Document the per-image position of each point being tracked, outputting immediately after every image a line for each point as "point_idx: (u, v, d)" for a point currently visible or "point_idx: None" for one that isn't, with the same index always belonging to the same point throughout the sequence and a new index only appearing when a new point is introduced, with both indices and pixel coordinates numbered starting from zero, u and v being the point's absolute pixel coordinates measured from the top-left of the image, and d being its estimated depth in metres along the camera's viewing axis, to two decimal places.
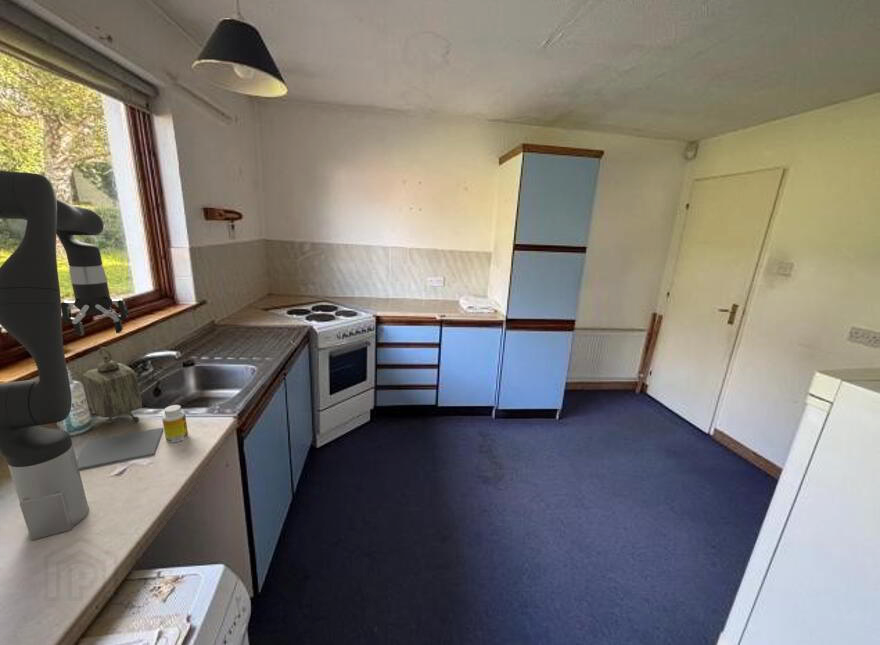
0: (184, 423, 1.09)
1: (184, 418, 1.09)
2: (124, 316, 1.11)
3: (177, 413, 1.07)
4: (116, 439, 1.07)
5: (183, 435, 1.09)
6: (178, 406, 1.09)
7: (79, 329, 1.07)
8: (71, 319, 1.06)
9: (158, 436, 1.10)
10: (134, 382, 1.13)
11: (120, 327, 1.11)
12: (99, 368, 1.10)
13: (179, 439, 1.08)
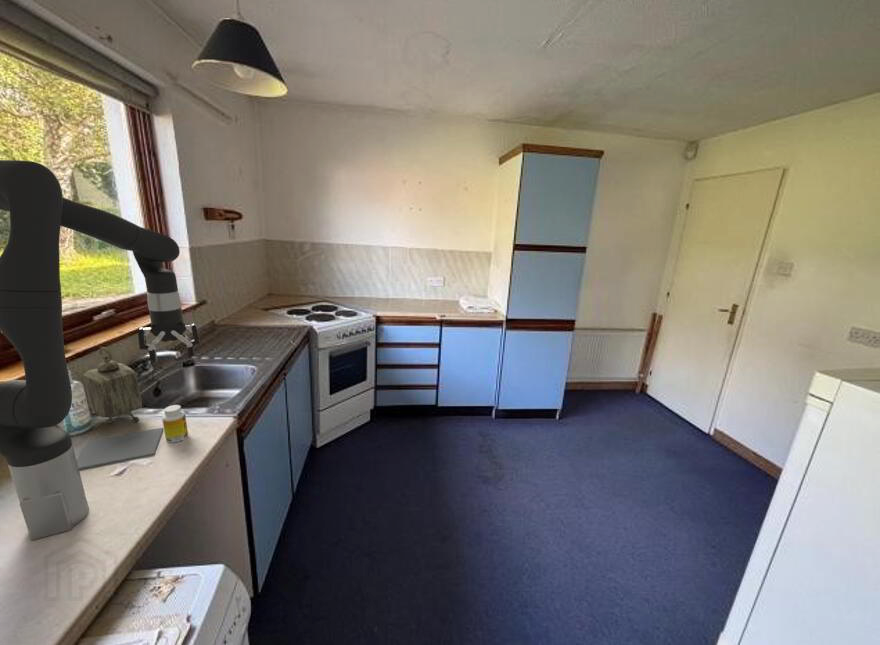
0: (184, 423, 1.09)
1: (184, 418, 1.09)
2: (197, 341, 1.09)
3: (177, 413, 1.07)
4: (116, 439, 1.07)
5: (183, 435, 1.09)
6: (178, 406, 1.09)
7: (154, 356, 1.05)
8: (147, 346, 1.04)
9: (158, 436, 1.10)
10: (134, 383, 1.13)
11: (192, 352, 1.10)
12: (99, 368, 1.10)
13: (179, 439, 1.08)
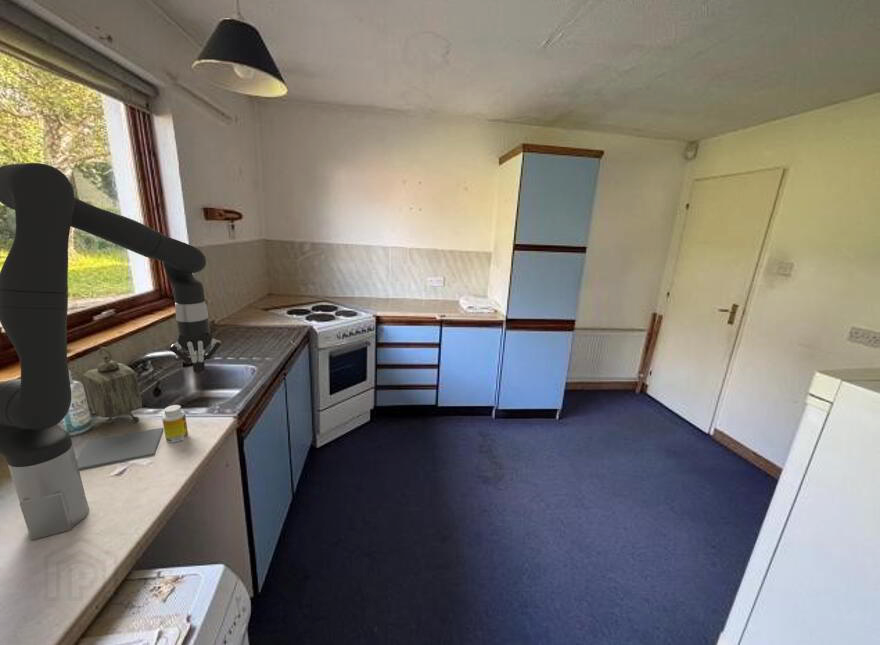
0: (184, 423, 1.09)
1: (184, 418, 1.09)
2: (209, 357, 1.07)
3: (177, 413, 1.07)
4: (116, 439, 1.07)
5: (183, 435, 1.09)
6: (178, 406, 1.09)
7: (197, 368, 1.07)
8: (191, 358, 1.06)
9: (158, 436, 1.10)
10: (134, 383, 1.13)
11: (203, 367, 1.08)
12: (99, 368, 1.10)
13: (179, 439, 1.08)
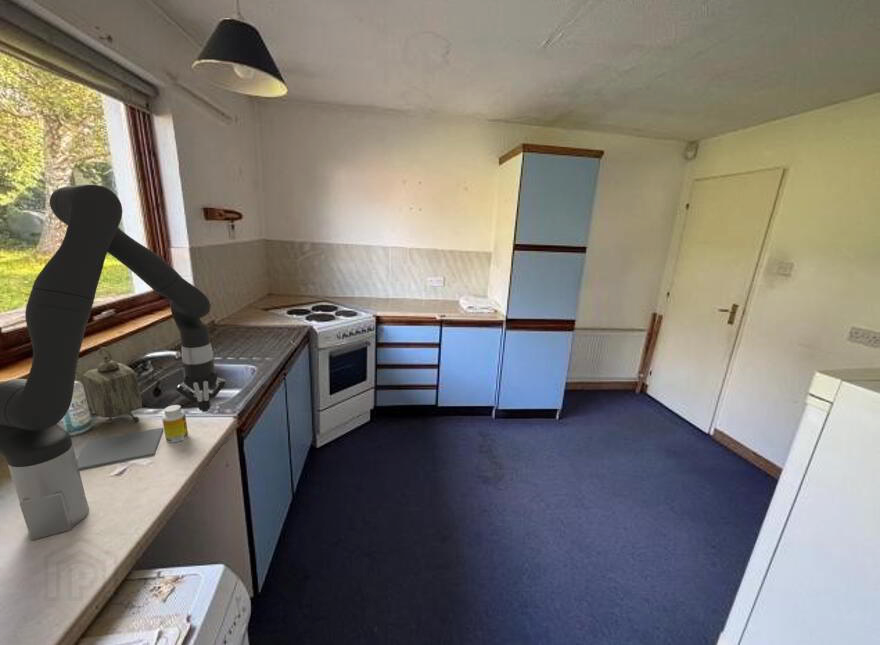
0: (184, 423, 1.09)
1: (184, 418, 1.09)
2: (214, 395, 1.11)
3: (177, 413, 1.07)
4: (116, 439, 1.07)
5: (183, 435, 1.09)
6: (178, 406, 1.09)
7: (203, 406, 1.10)
8: (196, 397, 1.09)
9: (158, 436, 1.10)
10: (134, 383, 1.13)
11: (209, 405, 1.12)
12: (99, 368, 1.10)
13: (179, 439, 1.08)
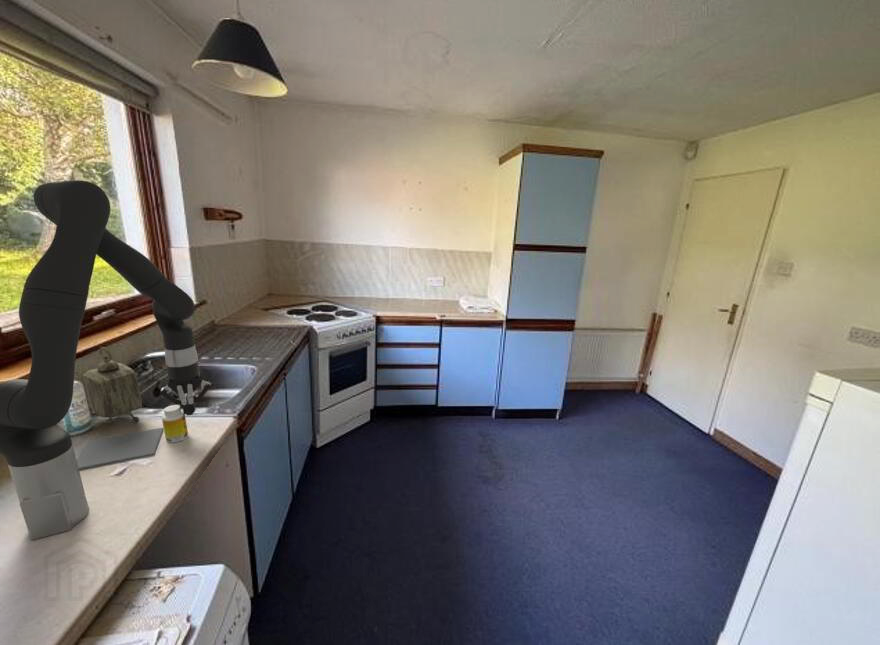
0: (184, 423, 1.09)
1: (184, 418, 1.09)
2: (198, 399, 1.09)
3: (177, 413, 1.07)
4: (116, 439, 1.07)
5: (183, 435, 1.09)
6: (178, 406, 1.09)
7: (187, 409, 1.08)
8: (181, 400, 1.07)
9: (158, 436, 1.10)
10: (134, 383, 1.13)
11: (193, 409, 1.10)
12: (99, 368, 1.10)
13: (179, 439, 1.08)
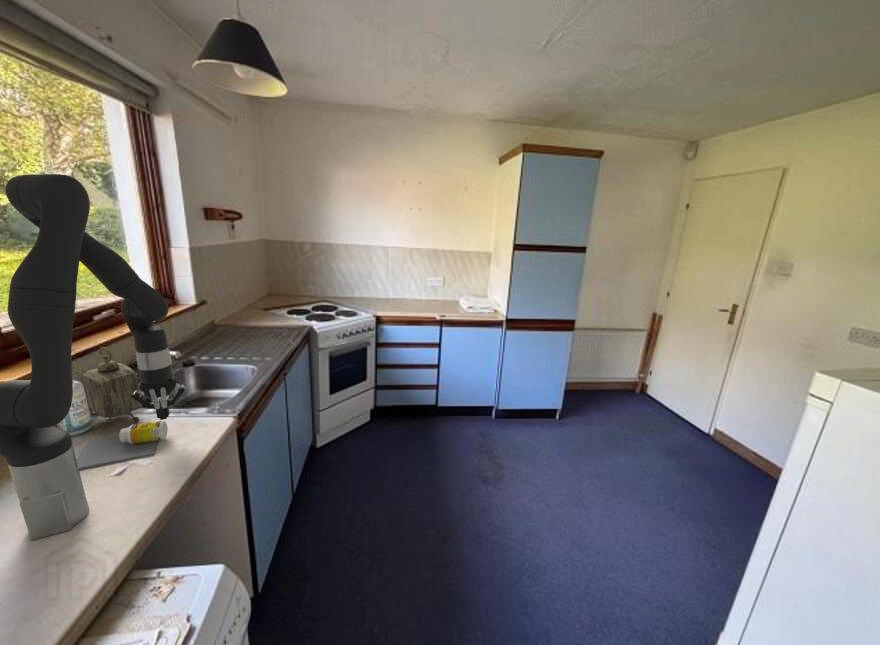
0: (141, 426, 1.05)
1: (135, 426, 1.05)
2: (172, 402, 1.06)
3: (125, 433, 1.03)
4: (116, 439, 1.07)
5: (155, 427, 1.06)
6: None
7: (161, 414, 1.06)
8: (154, 404, 1.04)
9: None
10: (134, 383, 1.13)
11: (167, 413, 1.07)
12: (99, 368, 1.10)
13: (158, 431, 1.06)
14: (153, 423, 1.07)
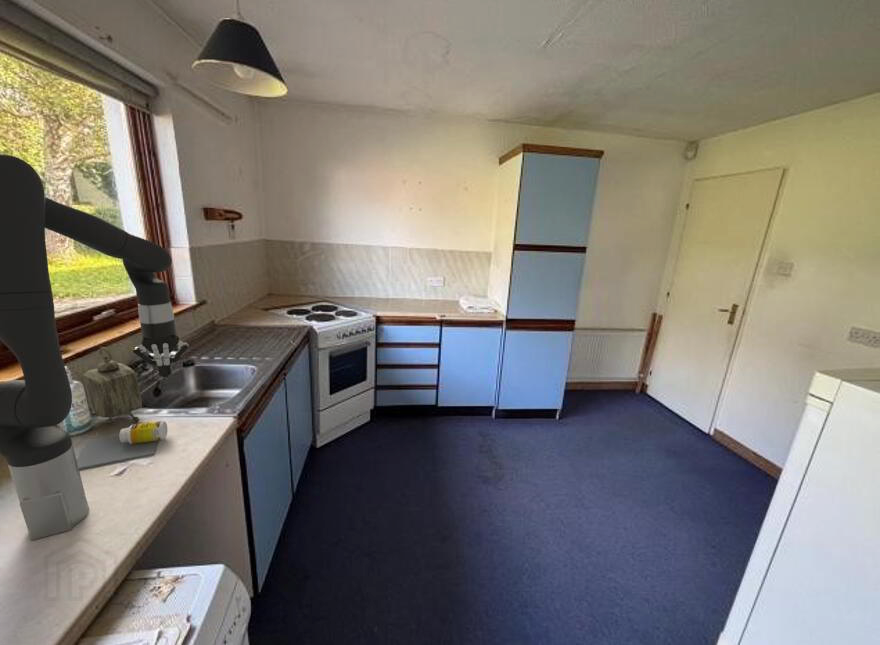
0: (141, 426, 1.05)
1: (135, 426, 1.05)
2: (175, 360, 1.04)
3: (125, 433, 1.03)
4: (116, 439, 1.07)
5: (155, 427, 1.06)
6: None
7: (163, 371, 1.03)
8: (156, 361, 1.02)
9: None
10: (134, 383, 1.13)
11: (170, 371, 1.04)
12: (99, 368, 1.10)
13: (158, 431, 1.06)
14: (153, 423, 1.06)
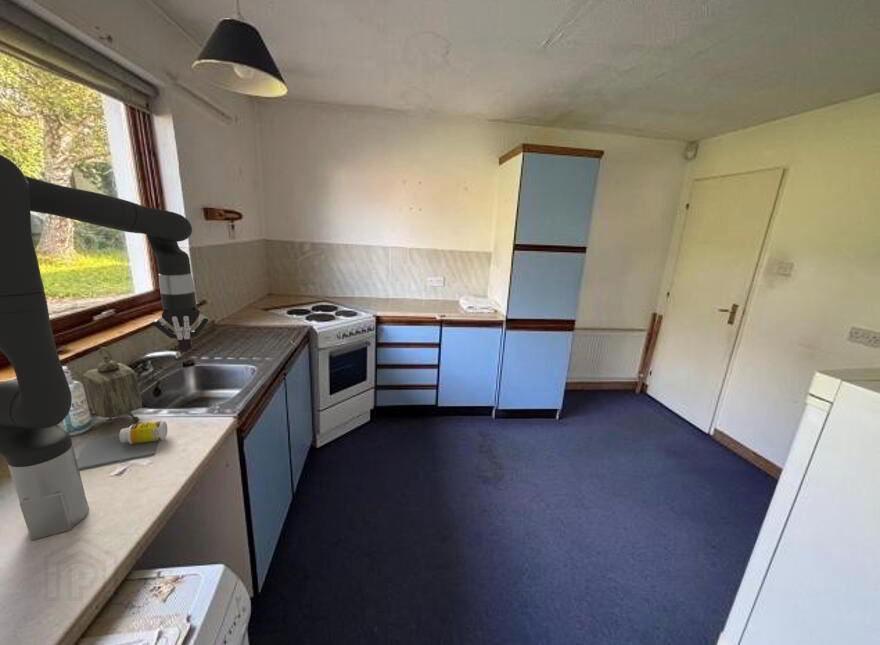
0: (141, 426, 1.05)
1: (135, 426, 1.05)
2: (195, 334, 1.01)
3: (125, 433, 1.03)
4: (116, 439, 1.07)
5: (155, 427, 1.06)
6: None
7: (183, 345, 1.00)
8: (176, 335, 0.99)
9: None
10: (134, 383, 1.13)
11: (190, 345, 1.01)
12: (99, 368, 1.10)
13: (158, 431, 1.06)
14: (153, 423, 1.06)
